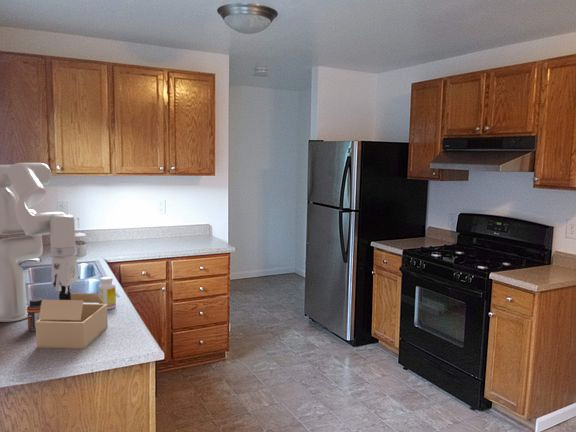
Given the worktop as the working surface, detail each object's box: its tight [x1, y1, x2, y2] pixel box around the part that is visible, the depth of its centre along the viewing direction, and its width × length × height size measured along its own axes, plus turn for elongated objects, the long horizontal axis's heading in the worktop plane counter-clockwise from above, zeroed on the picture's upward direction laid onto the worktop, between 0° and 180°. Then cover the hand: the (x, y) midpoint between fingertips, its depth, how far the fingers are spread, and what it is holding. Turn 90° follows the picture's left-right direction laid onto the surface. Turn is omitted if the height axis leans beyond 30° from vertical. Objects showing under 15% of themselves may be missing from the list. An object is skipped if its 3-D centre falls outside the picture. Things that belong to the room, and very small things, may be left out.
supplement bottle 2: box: [98, 276, 117, 310], centre depth 199 cm, size 7×7×13 cm
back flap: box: [71, 292, 103, 304], centre depth 173 cm, size 14×6×1 cm
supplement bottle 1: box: [27, 297, 43, 332], centre depth 173 cm, size 6×6×11 cm
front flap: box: [39, 299, 84, 320], centre depth 157 cm, size 14×6×1 cm
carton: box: [35, 303, 109, 350], centre depth 166 cm, size 16×20×9 cm
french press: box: [75, 217, 89, 259], centre depth 295 cm, size 10×12×25 cm
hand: (65, 304), depth 160 cm, fingers closed
